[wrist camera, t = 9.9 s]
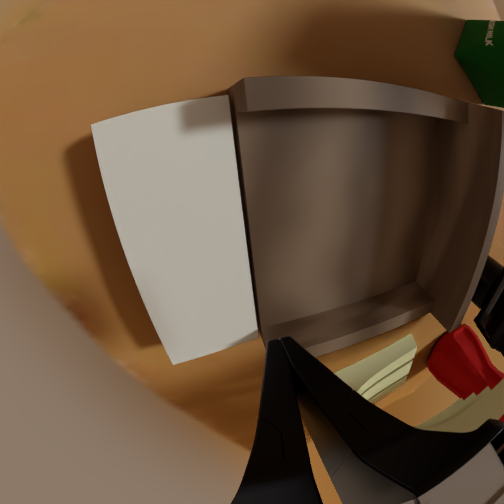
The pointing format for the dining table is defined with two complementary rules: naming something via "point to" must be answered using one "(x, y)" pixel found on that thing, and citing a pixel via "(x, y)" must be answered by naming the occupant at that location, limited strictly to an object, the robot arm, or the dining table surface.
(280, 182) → the brown open box
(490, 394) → the slatted curved stool
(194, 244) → the panel
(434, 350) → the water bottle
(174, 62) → the dining table surface
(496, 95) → the milk carton
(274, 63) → the dining table surface
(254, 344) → the dining table surface
